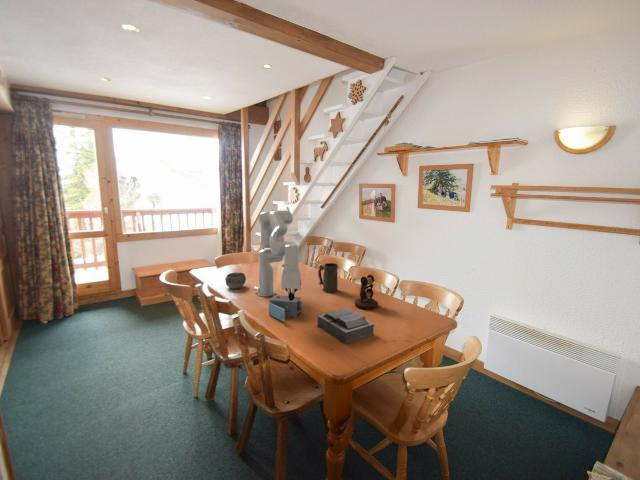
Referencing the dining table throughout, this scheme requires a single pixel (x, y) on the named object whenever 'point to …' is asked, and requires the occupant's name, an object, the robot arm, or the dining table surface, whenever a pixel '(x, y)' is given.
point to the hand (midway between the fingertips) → (291, 299)
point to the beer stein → (329, 277)
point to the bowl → (235, 280)
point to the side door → (277, 312)
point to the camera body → (288, 304)
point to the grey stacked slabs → (346, 325)
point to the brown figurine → (366, 293)
